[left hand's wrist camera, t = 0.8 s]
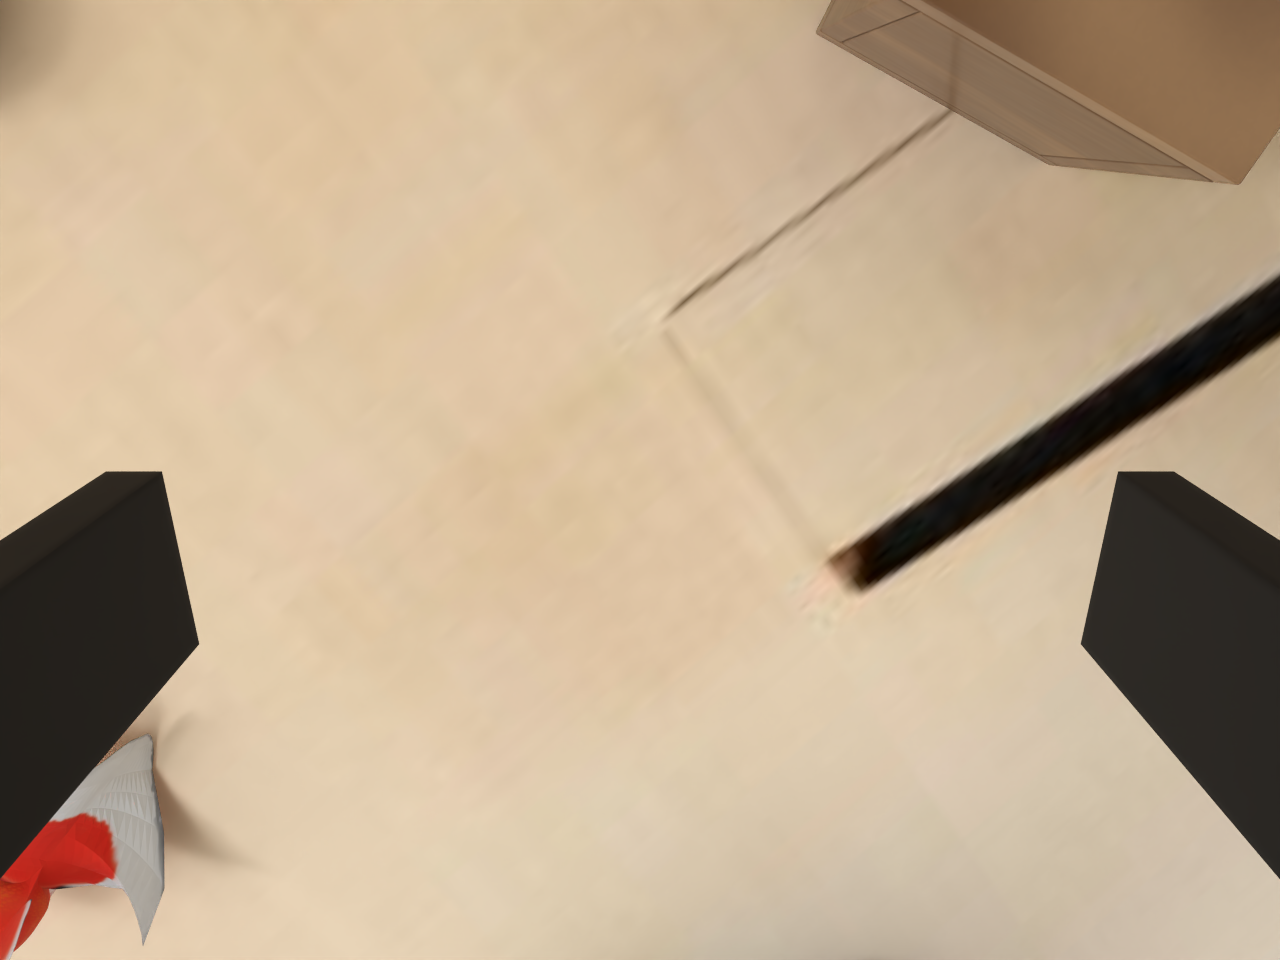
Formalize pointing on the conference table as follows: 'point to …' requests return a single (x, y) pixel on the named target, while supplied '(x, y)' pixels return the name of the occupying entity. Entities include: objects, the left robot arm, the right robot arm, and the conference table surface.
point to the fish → (92, 846)
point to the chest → (990, 90)
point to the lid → (1147, 67)
